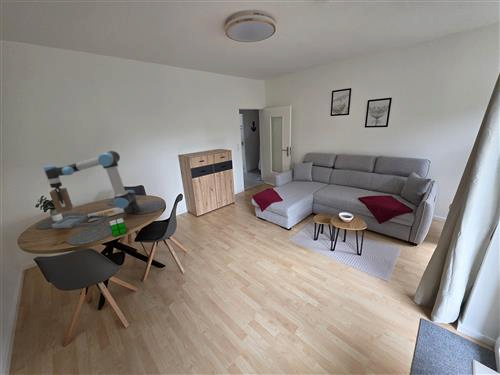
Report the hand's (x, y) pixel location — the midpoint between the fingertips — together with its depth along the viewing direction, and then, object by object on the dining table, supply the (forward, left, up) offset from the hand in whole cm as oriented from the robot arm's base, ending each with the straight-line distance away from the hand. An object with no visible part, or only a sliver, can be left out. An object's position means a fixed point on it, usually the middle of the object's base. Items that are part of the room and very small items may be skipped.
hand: (63, 205), depth 185 cm
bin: (0, 0, -19) cm, 19 cm away
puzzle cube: (-63, +20, -19) cm, 69 cm away
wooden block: (0, 0, -5) cm, 5 cm away
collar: (-22, -2, -19) cm, 29 cm away
